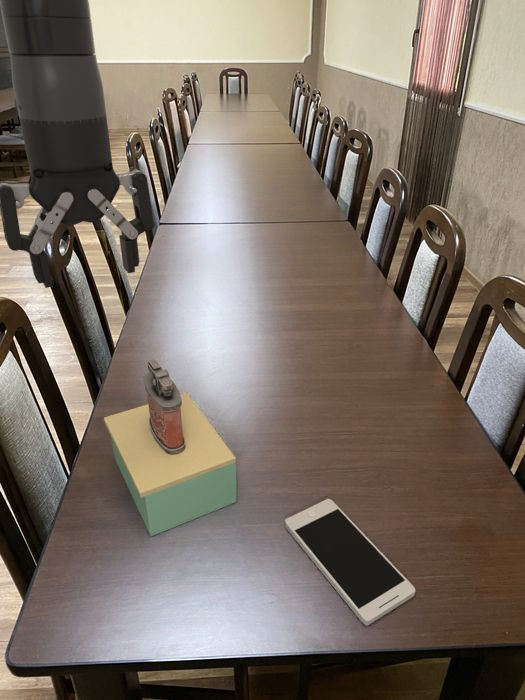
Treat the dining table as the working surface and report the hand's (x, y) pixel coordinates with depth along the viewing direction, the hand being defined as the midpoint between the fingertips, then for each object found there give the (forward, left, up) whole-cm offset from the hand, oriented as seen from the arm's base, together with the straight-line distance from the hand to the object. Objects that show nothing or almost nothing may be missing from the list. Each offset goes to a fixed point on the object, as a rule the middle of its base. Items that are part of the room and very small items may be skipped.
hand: (90, 277), depth 57 cm
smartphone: (+19, -24, -30) cm, 43 cm away
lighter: (+6, -2, -23) cm, 23 cm away
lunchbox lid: (+6, -2, -23) cm, 24 cm away
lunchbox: (+6, -2, -30) cm, 31 cm away
